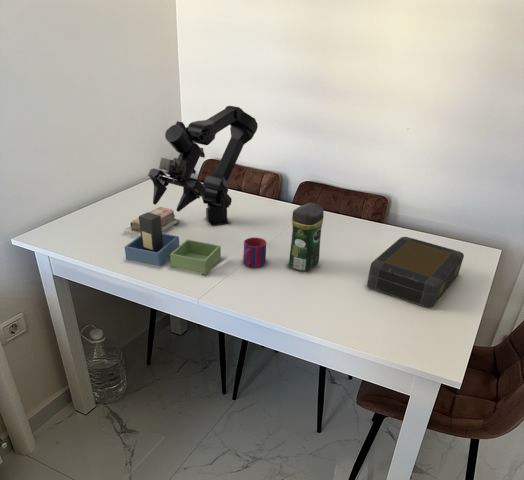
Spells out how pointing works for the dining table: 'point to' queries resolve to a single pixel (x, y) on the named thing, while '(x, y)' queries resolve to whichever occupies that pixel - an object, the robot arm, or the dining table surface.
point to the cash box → (415, 271)
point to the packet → (151, 232)
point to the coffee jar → (306, 236)
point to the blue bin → (149, 257)
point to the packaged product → (166, 221)
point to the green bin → (195, 256)
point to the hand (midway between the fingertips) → (165, 207)
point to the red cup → (254, 252)
